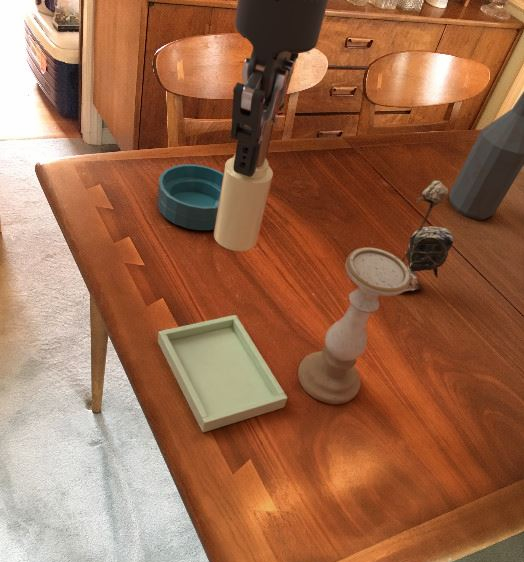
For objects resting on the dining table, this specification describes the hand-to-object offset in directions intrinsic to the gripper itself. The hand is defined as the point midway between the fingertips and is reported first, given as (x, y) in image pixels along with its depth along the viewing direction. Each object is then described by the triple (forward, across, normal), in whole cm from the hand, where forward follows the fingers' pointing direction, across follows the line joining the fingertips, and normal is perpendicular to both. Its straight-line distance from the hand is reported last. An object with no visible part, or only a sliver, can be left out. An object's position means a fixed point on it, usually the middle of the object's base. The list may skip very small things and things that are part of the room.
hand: (250, 163), depth 59 cm
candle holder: (+27, 0, +17) cm, 32 cm away
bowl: (+27, -27, -14) cm, 41 cm away
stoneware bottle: (+10, 0, 0) cm, 10 cm away
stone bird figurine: (+27, -28, +24) cm, 46 cm away
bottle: (+27, -62, +36) cm, 76 cm away
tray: (+27, +6, +3) cm, 28 cm away
